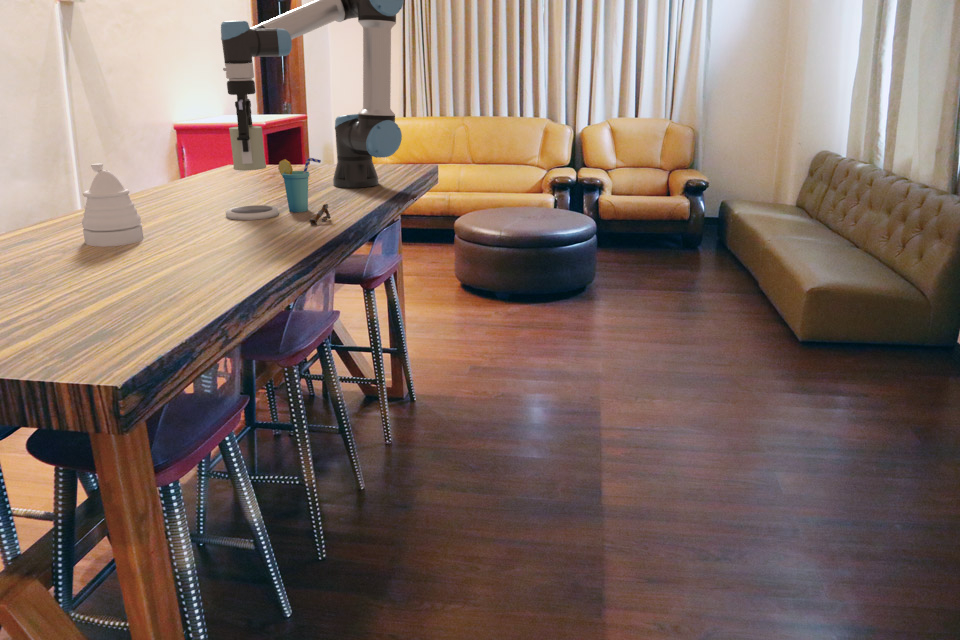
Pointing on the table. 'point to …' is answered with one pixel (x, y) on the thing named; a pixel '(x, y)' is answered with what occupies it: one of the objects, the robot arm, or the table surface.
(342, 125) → the robot arm
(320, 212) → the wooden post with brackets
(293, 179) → the cup
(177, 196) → the table surface
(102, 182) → the honey pot
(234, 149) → the can
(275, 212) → the white and grey plate
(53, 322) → the table surface
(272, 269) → the table surface
